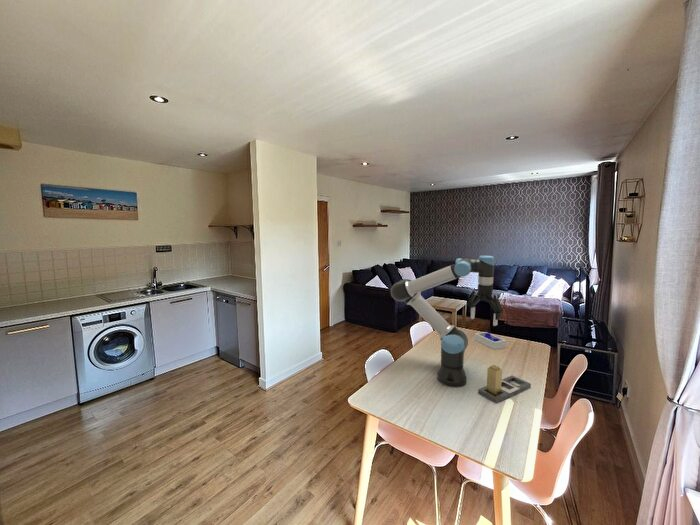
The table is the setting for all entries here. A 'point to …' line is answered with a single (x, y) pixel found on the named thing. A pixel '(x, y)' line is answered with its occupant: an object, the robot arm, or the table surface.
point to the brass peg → (494, 380)
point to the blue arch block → (487, 335)
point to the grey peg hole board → (504, 393)
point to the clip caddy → (490, 341)
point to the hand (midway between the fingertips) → (483, 321)
